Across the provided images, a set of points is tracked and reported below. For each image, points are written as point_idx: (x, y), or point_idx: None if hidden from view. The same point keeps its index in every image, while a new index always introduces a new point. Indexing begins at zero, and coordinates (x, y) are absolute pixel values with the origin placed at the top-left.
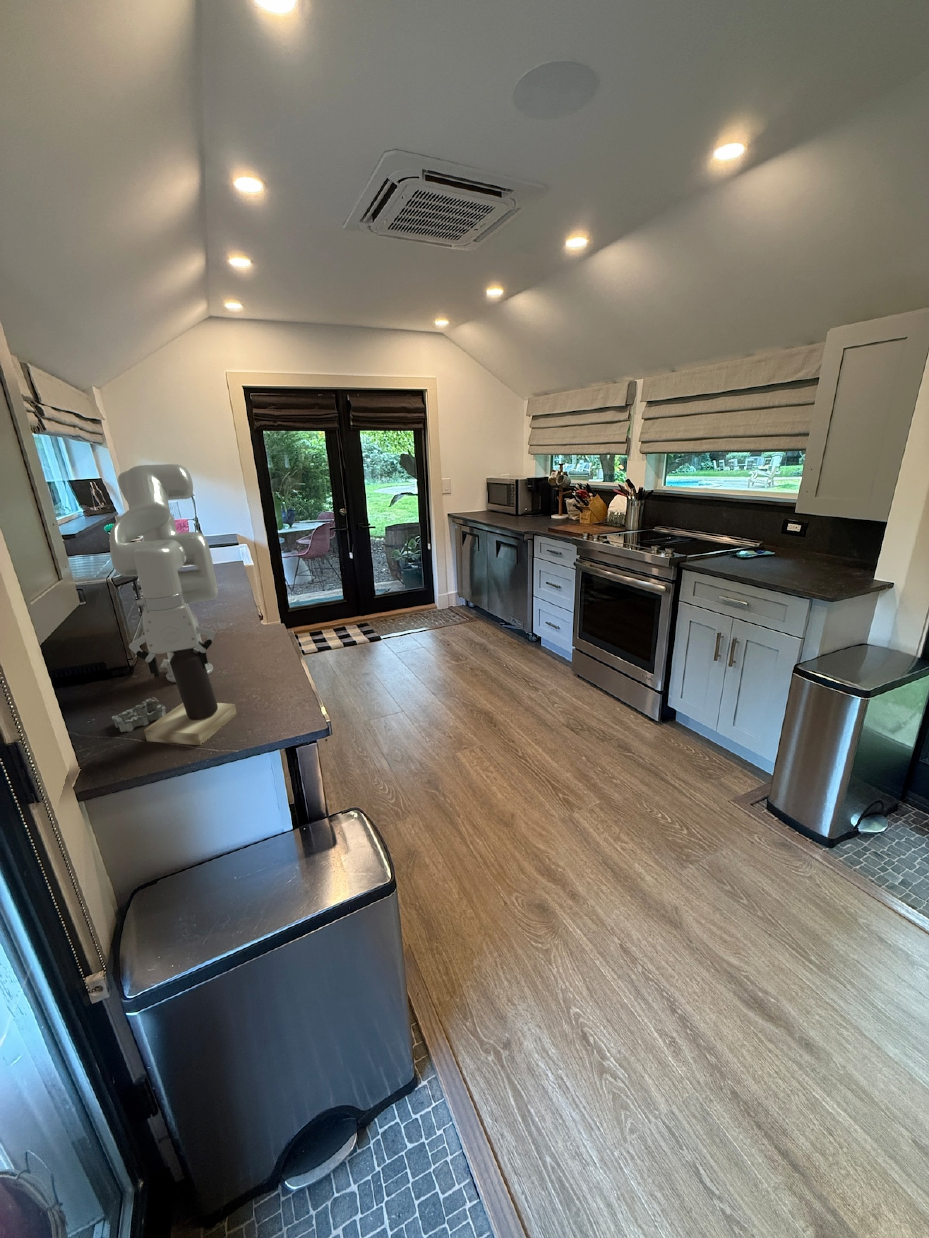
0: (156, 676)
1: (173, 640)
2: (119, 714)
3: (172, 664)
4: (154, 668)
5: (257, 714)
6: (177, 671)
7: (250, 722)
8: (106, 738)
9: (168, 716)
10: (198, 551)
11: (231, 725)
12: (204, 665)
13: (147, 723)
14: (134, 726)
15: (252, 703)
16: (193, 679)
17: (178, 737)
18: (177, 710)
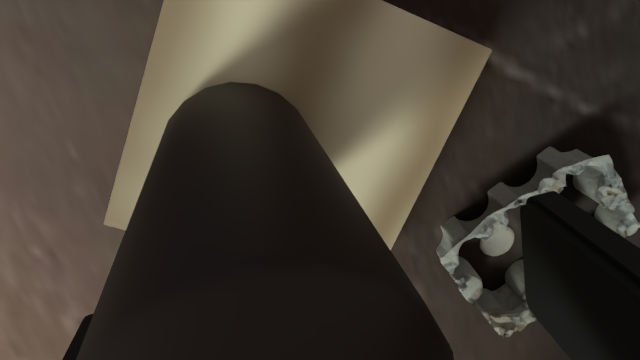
0: (540, 196)
1: None
2: None
3: (402, 290)
4: (604, 242)
5: (8, 176)
6: (332, 216)
7: (12, 103)
8: (623, 110)
9: (407, 162)
10: None
11: (106, 95)
12: (78, 341)
13: (492, 191)
14: (537, 176)
15: (81, 282)
16: (188, 175)
17: None
18: (379, 212)
